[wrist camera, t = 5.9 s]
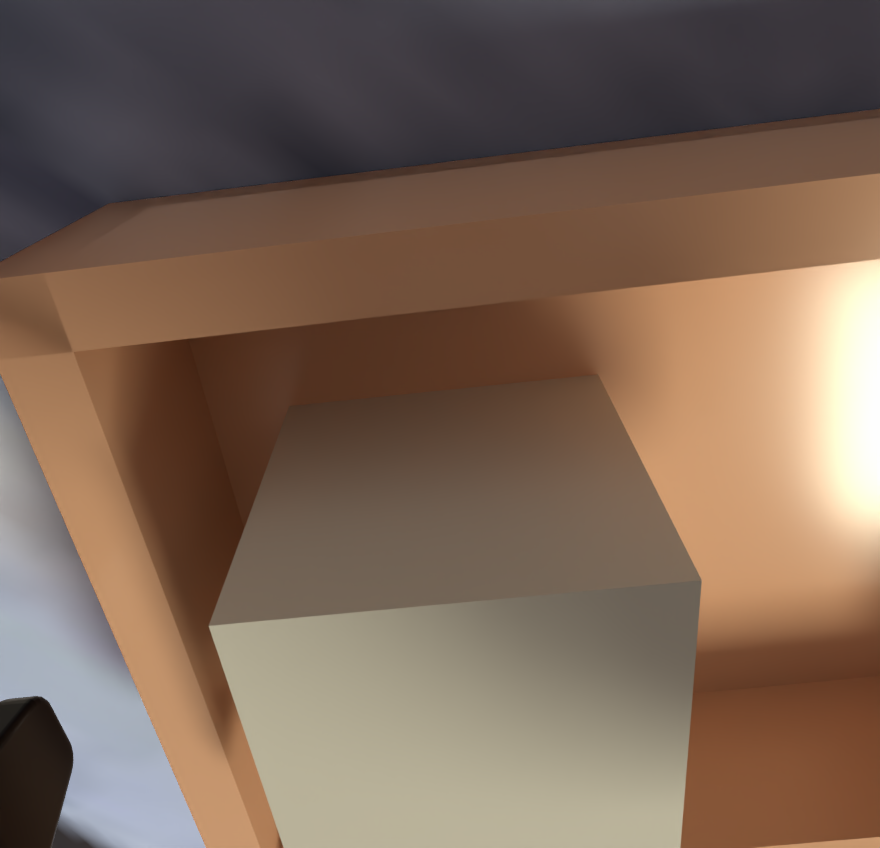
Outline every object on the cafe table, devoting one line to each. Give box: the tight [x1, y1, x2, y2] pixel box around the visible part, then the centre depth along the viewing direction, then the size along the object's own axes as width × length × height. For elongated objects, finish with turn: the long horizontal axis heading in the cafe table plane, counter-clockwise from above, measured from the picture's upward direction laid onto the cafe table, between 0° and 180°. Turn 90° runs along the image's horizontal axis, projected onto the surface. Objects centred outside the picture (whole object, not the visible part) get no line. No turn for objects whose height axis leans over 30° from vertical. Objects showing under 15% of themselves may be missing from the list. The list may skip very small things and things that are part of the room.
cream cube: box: [209, 374, 702, 848], centre depth 9 cm, size 4×4×4 cm
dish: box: [0, 109, 880, 848], centre depth 9 cm, size 12×9×3 cm
